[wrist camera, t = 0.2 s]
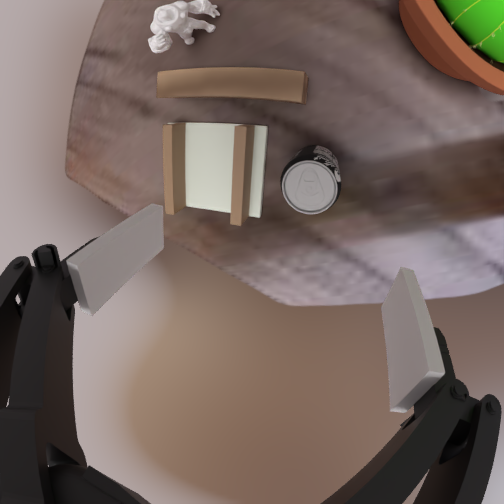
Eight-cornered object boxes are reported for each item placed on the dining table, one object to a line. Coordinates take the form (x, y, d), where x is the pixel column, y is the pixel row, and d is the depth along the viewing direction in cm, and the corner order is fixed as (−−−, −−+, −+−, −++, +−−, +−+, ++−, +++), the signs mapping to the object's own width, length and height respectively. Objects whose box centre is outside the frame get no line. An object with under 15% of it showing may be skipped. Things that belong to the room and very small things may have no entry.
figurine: (201, 63, 33) (156, 52, 23) (175, 58, 33) (126, 48, 23) (225, 8, 28) (187, -19, 18) (197, 5, 28) (154, -19, 18)
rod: (179, 75, 35) (157, 71, 30) (308, 78, 31) (304, 71, 26) (177, 97, 37) (156, 97, 32) (305, 104, 33) (301, 102, 28)
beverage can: (294, 188, 39) (279, 217, 29) (291, 144, 36) (275, 156, 26) (338, 189, 37) (340, 219, 27) (338, 145, 34) (341, 157, 24)
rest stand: (171, 122, 39) (153, 125, 35) (268, 126, 36) (259, 127, 32) (172, 201, 46) (156, 211, 42) (261, 215, 43) (252, 227, 39)
